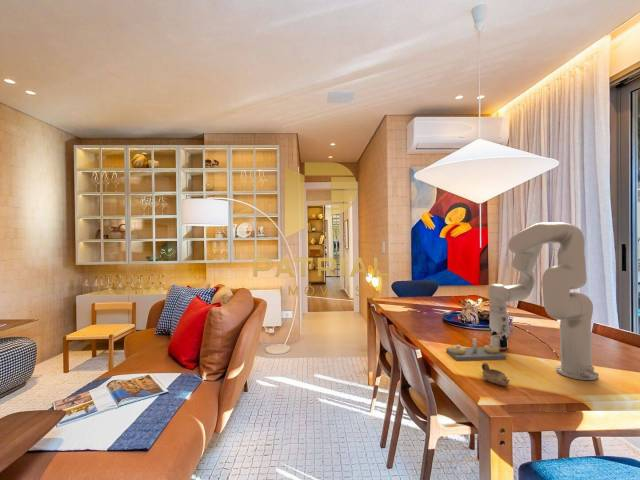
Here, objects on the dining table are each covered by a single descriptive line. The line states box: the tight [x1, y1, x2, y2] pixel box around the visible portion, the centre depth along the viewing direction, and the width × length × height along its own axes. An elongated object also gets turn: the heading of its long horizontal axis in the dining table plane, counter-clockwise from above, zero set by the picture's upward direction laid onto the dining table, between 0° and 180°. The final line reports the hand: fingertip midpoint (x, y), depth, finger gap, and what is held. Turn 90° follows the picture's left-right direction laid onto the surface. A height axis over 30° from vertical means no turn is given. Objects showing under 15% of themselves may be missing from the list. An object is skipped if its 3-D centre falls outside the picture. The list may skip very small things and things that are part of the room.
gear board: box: [446, 338, 507, 362], centre depth 148 cm, size 12×22×8 cm, turn 89°
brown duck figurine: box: [481, 362, 510, 387], centre depth 122 cm, size 13×8×5 cm, turn 4°
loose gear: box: [490, 334, 509, 350], centre depth 158 cm, size 7×7×5 cm
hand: (499, 344), depth 158 cm, fingers closed on loose gear, 7 cm apart
